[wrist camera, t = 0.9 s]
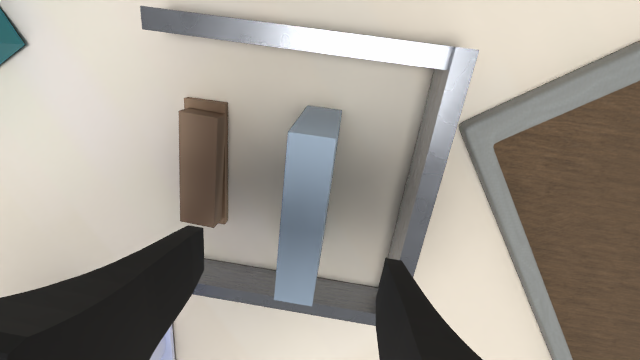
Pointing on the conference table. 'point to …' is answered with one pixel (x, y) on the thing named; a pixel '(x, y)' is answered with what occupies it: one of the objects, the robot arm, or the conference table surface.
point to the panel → (305, 202)
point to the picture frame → (571, 202)
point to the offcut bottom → (223, 108)
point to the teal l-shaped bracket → (8, 39)
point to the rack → (424, 169)
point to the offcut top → (201, 166)
